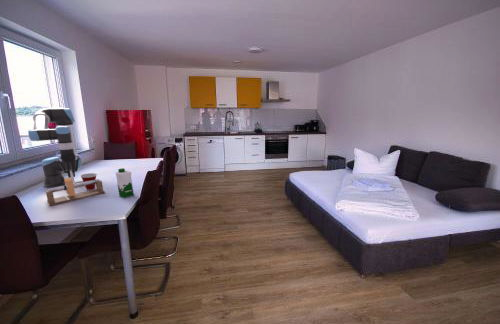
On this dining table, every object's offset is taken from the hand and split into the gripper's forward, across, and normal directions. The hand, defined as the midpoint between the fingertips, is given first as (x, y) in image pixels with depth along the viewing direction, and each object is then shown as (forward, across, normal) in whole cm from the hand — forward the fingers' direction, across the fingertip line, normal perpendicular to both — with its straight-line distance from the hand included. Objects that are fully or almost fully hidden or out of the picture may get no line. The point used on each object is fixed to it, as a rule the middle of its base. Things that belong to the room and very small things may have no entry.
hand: (72, 181), depth 162 cm
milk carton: (+13, +26, -24) cm, 38 cm away
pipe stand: (+12, +1, 0) cm, 12 cm away
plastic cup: (+13, +13, +15) cm, 23 cm away
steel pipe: (+5, +1, 0) cm, 5 cm away
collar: (+9, -2, 0) cm, 9 cm away
